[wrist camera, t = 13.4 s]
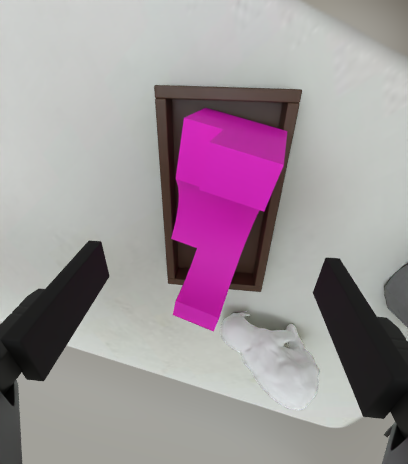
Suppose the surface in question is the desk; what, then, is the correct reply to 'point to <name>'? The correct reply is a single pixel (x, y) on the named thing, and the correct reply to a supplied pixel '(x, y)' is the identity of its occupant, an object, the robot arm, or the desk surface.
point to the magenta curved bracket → (220, 202)
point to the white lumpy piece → (274, 360)
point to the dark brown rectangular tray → (169, 139)
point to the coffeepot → (398, 294)
